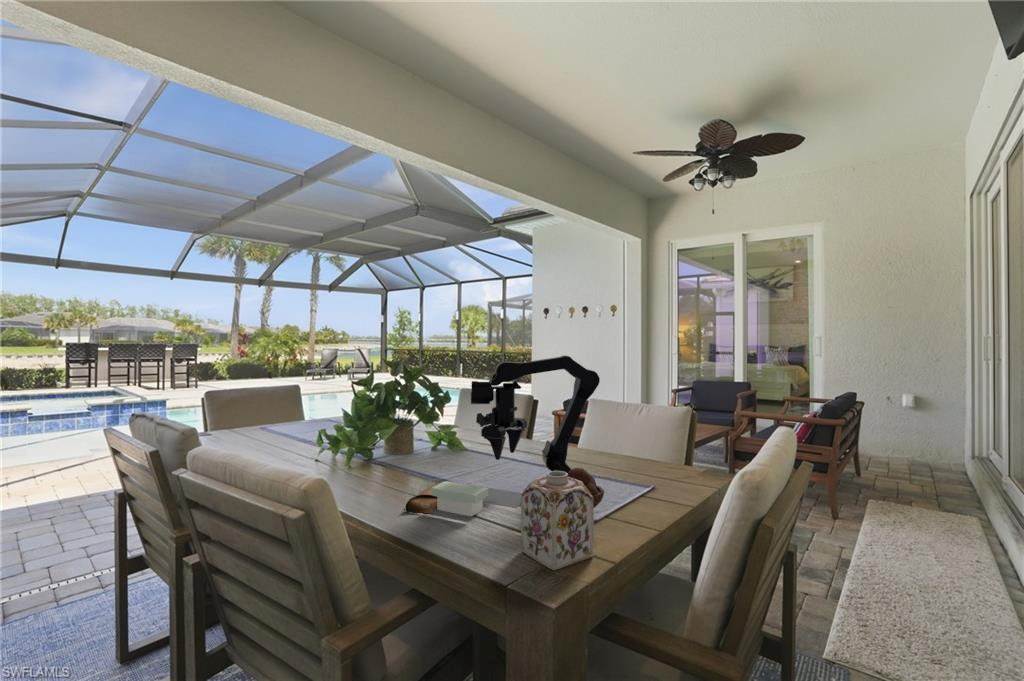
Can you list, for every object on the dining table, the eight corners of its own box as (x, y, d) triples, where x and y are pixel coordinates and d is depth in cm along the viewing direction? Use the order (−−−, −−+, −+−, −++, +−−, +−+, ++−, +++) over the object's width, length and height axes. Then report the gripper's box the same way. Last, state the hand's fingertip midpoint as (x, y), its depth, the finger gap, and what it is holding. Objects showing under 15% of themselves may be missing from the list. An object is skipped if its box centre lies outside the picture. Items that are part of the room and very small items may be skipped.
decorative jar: (595, 557, 106) (595, 475, 106) (554, 573, 99) (554, 484, 99) (558, 538, 116) (559, 463, 115) (519, 551, 109) (519, 471, 109)
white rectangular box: (482, 511, 133) (482, 495, 133) (471, 518, 128) (471, 501, 128) (448, 505, 138) (448, 489, 138) (437, 511, 133) (437, 495, 133)
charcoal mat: (533, 497, 145) (533, 495, 145) (515, 510, 134) (515, 507, 134) (481, 488, 153) (481, 486, 153) (460, 500, 142) (460, 497, 142)
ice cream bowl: (604, 537, 116) (604, 474, 116) (557, 533, 118) (557, 472, 118) (604, 520, 127) (604, 463, 126) (561, 517, 129) (561, 460, 129)
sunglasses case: (433, 515, 130) (421, 492, 131) (413, 526, 132) (401, 503, 133) (459, 494, 147) (449, 474, 148) (441, 504, 149) (431, 484, 150)
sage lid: (488, 495, 133) (488, 488, 133) (475, 503, 127) (475, 495, 127) (445, 488, 139) (445, 481, 139) (431, 495, 133) (431, 487, 133)
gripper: (496, 398, 157) (496, 446, 158) (465, 406, 141) (465, 460, 141) (527, 400, 152) (527, 450, 153) (499, 408, 136) (499, 464, 136)
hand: (505, 456), depth 146 cm, fingers open, 9 cm apart
